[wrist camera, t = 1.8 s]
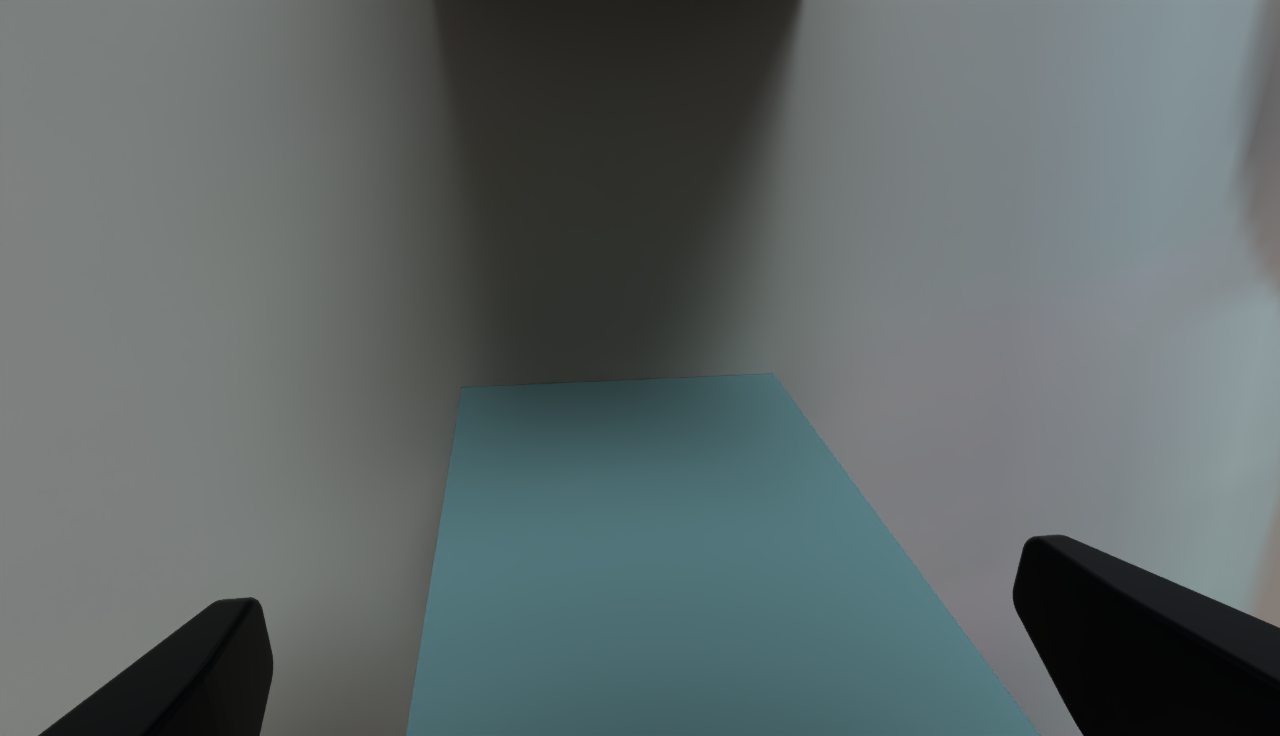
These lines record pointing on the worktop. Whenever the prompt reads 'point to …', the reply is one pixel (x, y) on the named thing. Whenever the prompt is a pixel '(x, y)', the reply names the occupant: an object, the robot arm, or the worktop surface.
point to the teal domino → (678, 578)
